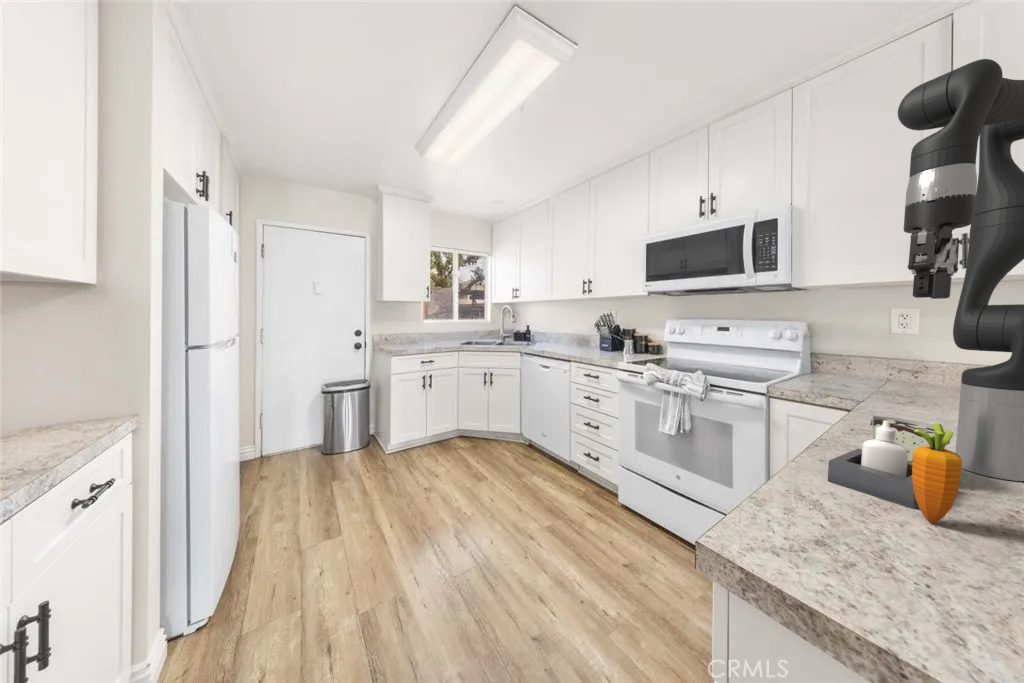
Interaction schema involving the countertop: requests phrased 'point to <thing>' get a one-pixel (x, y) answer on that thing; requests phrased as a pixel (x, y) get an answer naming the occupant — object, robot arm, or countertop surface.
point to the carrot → (935, 474)
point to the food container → (905, 432)
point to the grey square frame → (872, 479)
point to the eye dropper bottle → (885, 452)
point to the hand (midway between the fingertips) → (931, 298)
